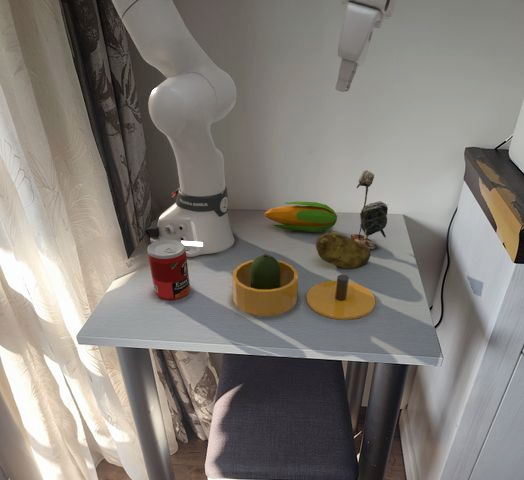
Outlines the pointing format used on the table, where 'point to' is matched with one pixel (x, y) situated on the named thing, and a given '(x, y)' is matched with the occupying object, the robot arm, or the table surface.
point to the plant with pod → (370, 215)
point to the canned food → (169, 269)
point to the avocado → (265, 273)
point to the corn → (303, 217)
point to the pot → (265, 291)
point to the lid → (340, 299)
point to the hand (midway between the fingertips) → (341, 91)
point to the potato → (342, 250)
